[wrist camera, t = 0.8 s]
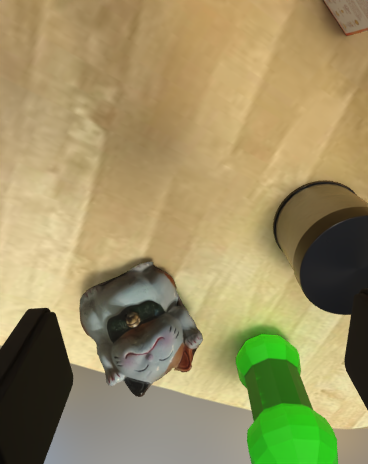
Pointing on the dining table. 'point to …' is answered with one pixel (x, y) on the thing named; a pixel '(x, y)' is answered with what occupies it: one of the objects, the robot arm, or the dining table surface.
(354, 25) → the cracker box
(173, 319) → the lucky cat figurine
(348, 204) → the metal canister
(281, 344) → the plastic bottle
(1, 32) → the dining table surface
